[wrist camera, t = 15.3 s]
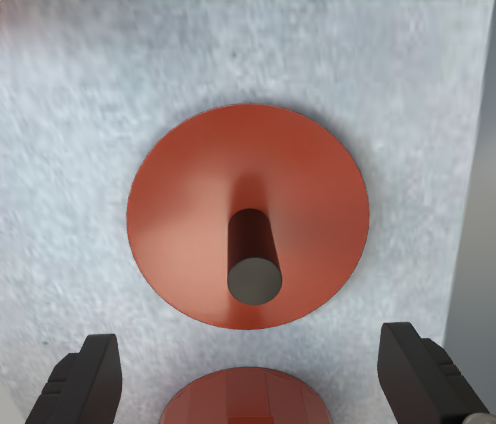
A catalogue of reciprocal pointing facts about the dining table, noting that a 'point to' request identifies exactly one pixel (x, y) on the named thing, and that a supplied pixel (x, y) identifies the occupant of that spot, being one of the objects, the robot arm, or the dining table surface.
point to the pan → (246, 400)
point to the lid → (247, 216)
